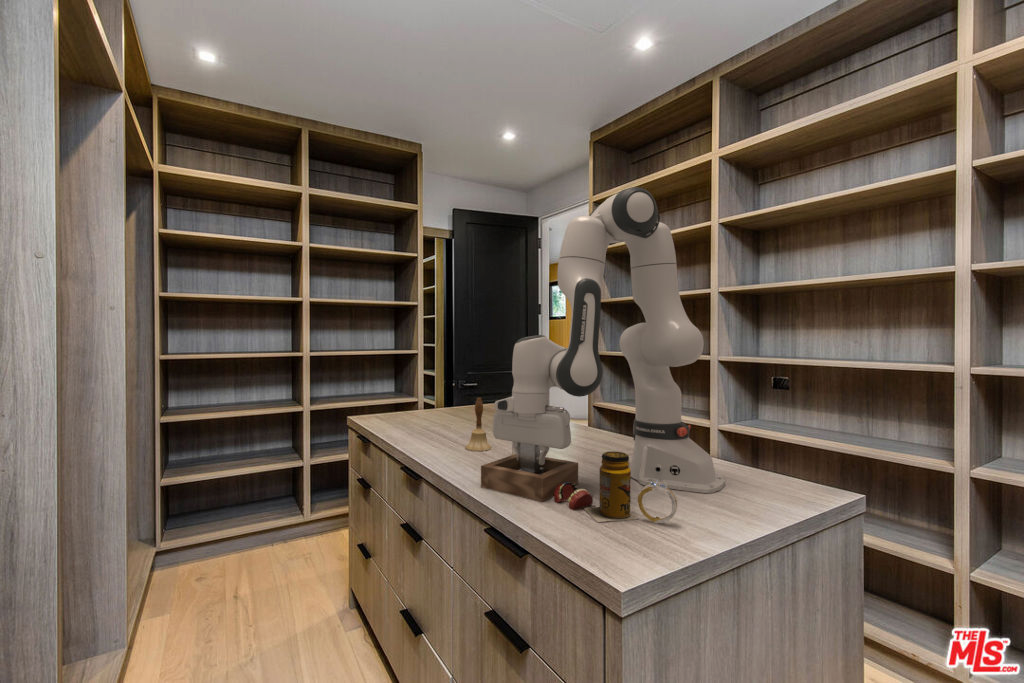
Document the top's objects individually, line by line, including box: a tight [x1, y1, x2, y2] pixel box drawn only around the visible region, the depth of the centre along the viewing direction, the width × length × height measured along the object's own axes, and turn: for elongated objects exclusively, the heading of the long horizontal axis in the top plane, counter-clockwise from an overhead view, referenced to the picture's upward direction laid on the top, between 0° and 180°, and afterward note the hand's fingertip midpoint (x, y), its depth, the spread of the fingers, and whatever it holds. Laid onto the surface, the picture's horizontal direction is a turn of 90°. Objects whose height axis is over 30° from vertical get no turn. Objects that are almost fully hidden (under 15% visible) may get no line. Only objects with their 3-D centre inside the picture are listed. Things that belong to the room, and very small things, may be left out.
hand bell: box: [465, 397, 492, 452], centre depth 151 cm, size 8×8×16 cm
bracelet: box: [637, 479, 678, 525], centre depth 90 cm, size 7×3×8 cm, turn 55°
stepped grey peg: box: [519, 443, 544, 475], centre depth 113 cm, size 4×6×9 cm, turn 144°
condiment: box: [583, 450, 639, 523], centre depth 95 cm, size 7×8×12 cm
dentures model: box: [553, 482, 593, 511], centre depth 101 cm, size 6×4×8 cm
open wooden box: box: [480, 454, 579, 503], centre depth 113 cm, size 17×16×5 cm
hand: (530, 462), depth 113 cm, fingers closed on stepped grey peg, 4 cm apart
